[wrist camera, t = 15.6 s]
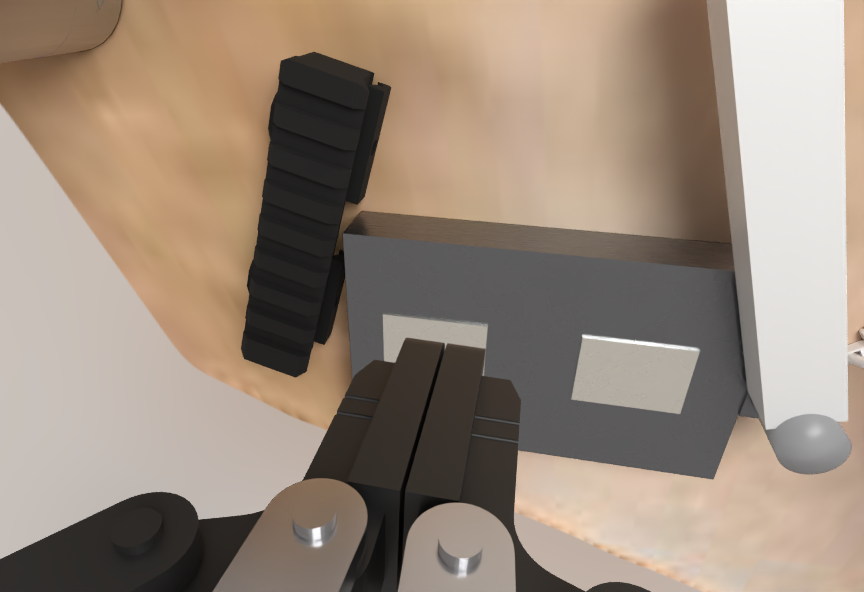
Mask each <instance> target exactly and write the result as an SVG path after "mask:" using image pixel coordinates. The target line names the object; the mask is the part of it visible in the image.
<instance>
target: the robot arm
mask: <svg viewBox="0 0 864 592" xmlns="http://www.w3.org/2000/svg"><path fill="white" fill-rule="evenodd" d="M121 3H122V0H0V63H5V62H12V61H19V60H25V59H33V58H40V57H47V56H53V55H60V54H66V53H72V52H79V51H84V50H89V49H93V48H94V47H96V46H98V45H100V44H101V43H103V42H104V41H105V40H106V39H107V38H108V37H109V36H110V35H111V34H112V32H113V30H114V28H115V26H116V24H117V22H118V18H119V14H120V10H121ZM485 352H486V349H484V348H477V347H470V346H464V345H457V344H450V343H447V345H446V348H445V343H442V342H435V341H428V340H421V339H414V338H407V337H406V338H405V340H404V342H403V345H402V347H401V350H400V352H399V354H398V357H397V359H396V362H395V363H393V362H387V361H380V360H373V361H372V362H371V363H369V364H368V365H367V366H366V367H364V368H363V369H362V370H360V371H359V372H358V373H357V374H355V376H354V378H353V380H352V382H351V384H350V386H349V388H348V390H347V392H346V394H345V398H343V400H342V402H341V404H340V406H339V408H338V410H337V415H335V416H334V418H333V420H332V422H331V424H330V426H329V429H328V431H327V433H326V435H325V437H324V439H323V441H322V443H321V445H320V447H319V449H318V451H317V453H316V455H315V457H314V459H313V461H312V463H311V465H310V467H309V469H308V471H307V473H306V475H305V477H304V479H303V480H302V481H301V482H298V483H295V484H293V485H291V486H289V487H287V488H285V489H284V490H283V491H281V492H280V493H279V494H277V496H276V497H274V498H273V499H272V501H271V502H270V503H269V504H268V506H267V507H266V509H265V510H263V511H260V512H256V513H253V514H247V515H241V516H231V517H222V518H211V519H201V520H198V516H197V512H196V510H195V508H194V507H193V505H192V504H191V503H190V502H189V501H188V500H186V499H185V498H183V497H181V496H179V495H177V494H172V493H166V492H152V493H146V494H141V495H137V496H134V497H131V498H129V499H126V500H124V501H121V502H119V503H117V504H115V505H113V506H111V507H109V508H107V509H105V510H103V511H100V512H98V513H96V514H94V515H92V516H90V517H88V518H86V519H84V520H82V521H79V522H78V523H75V524H73V525H71V526H69V527H67V528H65V529H63V530H61V531H58V532H56V533H54V534H52V535H50V536H48V537H46V538H44V539H42V540H40V541H38V542H35V543H33V544H31V545H29V546H27V547H25V548H23V549H21V550H19V551H16V552H14V553H12V554H10V555H8V556H6V557H4V558H2V559H0V592H585V591H583V590H581V589H579V588H577V587H576V586H574V585H572V584H570V583H567V582H566V581H564V580H562V579H560V578H558V577H556V576H555V575H553V574H551V573H550V572H548V571H546V570H545V569H544V568H542V567H541V566H540V565H538V564H537V563H536V562H535V561H534V560H533V559H532V558H531V557H530V556H529V554H528V553H527V552H526V551H525V549H524V548H523V546H522V545H521V543H520V541H519V539H518V536H517V534H516V531H515V526H514V503H515V487H516V471H517V456H518V440H519V423H520V409H521V399H520V397H519V395H518V394H517V392H516V390H515V388H514V386H513V384H512V382H511V380H507V379H500V378H493V377H487V376H483V369H484V361H485ZM586 592H650V591H648V590H646V589H644V588H641V587H639V586H636V585H632V584H628V583H622V582H608V583H603V584H600V585H597V586H594V587H592V588H591V589H589V590H588V591H586Z"/></svg>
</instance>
